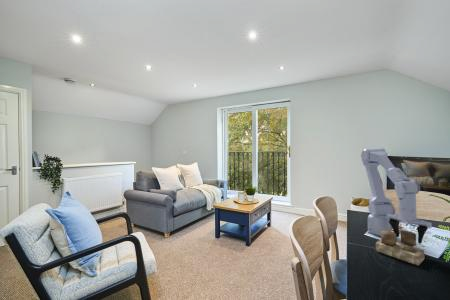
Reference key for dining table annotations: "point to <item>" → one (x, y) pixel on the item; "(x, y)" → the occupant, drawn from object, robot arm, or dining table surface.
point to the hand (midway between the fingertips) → (408, 239)
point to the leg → (408, 238)
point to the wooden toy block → (398, 249)
